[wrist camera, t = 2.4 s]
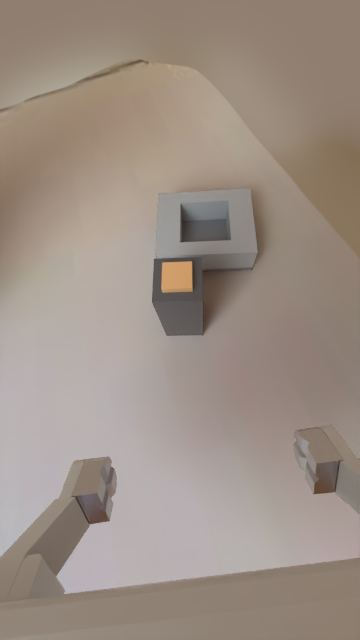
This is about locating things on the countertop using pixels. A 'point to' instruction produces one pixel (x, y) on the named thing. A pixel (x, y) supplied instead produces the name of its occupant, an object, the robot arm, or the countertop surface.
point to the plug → (179, 295)
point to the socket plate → (208, 228)
